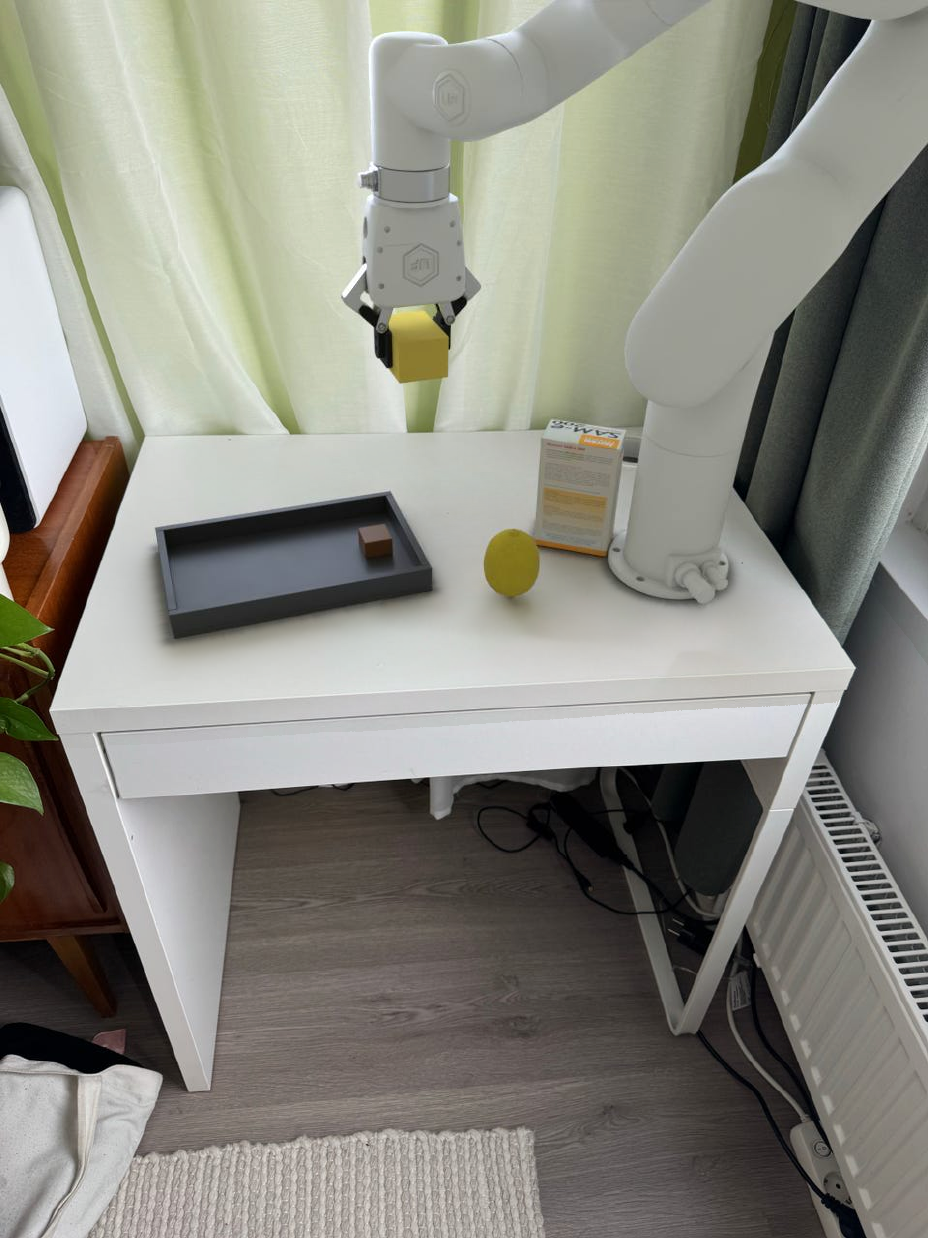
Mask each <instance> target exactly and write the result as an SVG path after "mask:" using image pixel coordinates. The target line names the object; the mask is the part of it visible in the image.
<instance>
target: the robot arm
mask: <svg viewBox="0 0 928 1238" xmlns="http://www.w3.org/2000/svg"><path fill="white" fill-rule="evenodd" d="M712 1H713V0H551V1H549V3H548V4H546V5H545V6H544V7H543V8H541V9H539V11H537V12H536V13H534V14H533V15H532V16H531V17H529V18H528V19H526V20H525V21H524V22H522V23H521V24H519V25H517V26H516V27H515V28H513V29H512V30H510V31H508V32H506V33H499V34H494V35H491V36H486V37H481V38H476V39H472V40H469V41H463V42H457V43H450V44H449V43H448V41H447V40H446V39H445V38H443V37H442V36H440V35H437V34H434V33H429V32H423V31H391V32H384V33H382V34H380V35H379V34H378V35H377V36H375V38H373V40H372V42H371V43H370V46H369V49H368V78H369V79H368V81H369V111H370V112H369V113H370V140H371V141H370V142H371V143H370V144H371V161H370V162H369V165H370V166H369V168H368V170H366V171H365V172H359V173H358V174H357V182H358V186H359V189H367V190H370V191H371V192H372V194H370V195H368V196H367V197H366V202H365V209H364V214H363V215H364V216H363V225H362V235H361V255H360V256H361V258H360V259H361V260H360V261H361V262H360V263H361V265H360V266H361V267H360V269H359V270H358V271H357V272H356V274H355V276H354V277H352V280H351V281H350V282H349V284H348V285H347V286H346V288H345V289H344V290H343V291H342V293H341V295H340V299H341V301H342V302H343V303H344V304H345V306H347V307H348V308H349V309H351V310H352V311H354V312H355V313H356V314H358V315H359V316H360V317H361V318H362V319H363V320H365V321H366V322H367V324H369V325H370V326H372V327H373V344H374V345H373V348H374V355H375V358H377V359H378V360H380V362H381V363H382V364H383V366H384V367H385V369H388V368H392V366H393V361H392V332H391V331H390V330H389V322H390V318H391V315H392V314H393V311H394V309H399V308H409V307H410V308H411V307H418V306H428V305H433V306H434V308H435V312H436V313H435V315H433V316H432V320H433V321H434V322H435V323H436V324H437V325H438V326H439V327H440V328H441V329H442V330H443V332H444V333H445V334H446V335H447V336H448V337H449V348H448V351H450V350H451V347H452V346H451V344H452V325H454V324H455V322H456V319H457V317H458V316H459V314H460V313H461V312H462V311H463V310H464V308H465V307H466V306H467V304H468V302H469V301H471V300H472V299H473V298H474V297H475V296H476V295H477V294H478V292H480V291H481V290H482V285H481V282H479V280H477V278H476V277H475V276H474V274H473V273H472V272H471V271H470V270H469V269H468V267H466V262H465V261H466V259H465V246H464V245H465V244H464V234H463V233H464V232H463V222H462V216H461V207H460V203H459V198H458V197H457V196H456V195H454V194H453V193H451V191H450V189H451V141H452V140H453V141H457V142H464V143H473V142H477V141H481V140H485V139H488V138H490V137H493V136H496V135H498V134H501V133H503V132H505V131H508V130H511V129H514V128H518V127H520V126H523V125H527V124H528V123H531V122H533V121H535V120H536V119H538V118H540V117H541V116H543V115H545V114H546V113H548V112H549V111H551V110H552V109H554V108H556V107H557V106H559V105H560V104H562V103H563V102H565V101H567V100H568V99H570V98H571V97H573V96H574V95H576V94H577V93H578V92H580V91H582V90H583V89H585V88H586V87H588V86H589V85H591V84H592V83H594V82H595V81H597V80H598V79H600V78H602V76H604V75H605V74H606V73H608V72H609V71H611V70H612V69H613V68H615V67H616V66H618V65H619V64H620V63H621V62H623V61H626V60H628V59H629V58H631V57H632V56H634V54H635V53H637V52H638V51H639V50H640V49H642V48H643V47H645V46H647V44H649V43H651V42H652V41H653V40H655V39H657V38H658V37H660V36H661V35H662V34H664V33H666V32H667V31H669V30H670V29H672V28H673V27H674V26H676V25H678V23H680V22H682V21H683V20H684V19H686V18H688V17H689V16H691V15H693V14H694V13H695V12H697V11H698V10H700V9H701V8H703V7H705V6H706V5H708V4H709V3H711V2H712ZM794 1H795V2H799V3H803V4H805V5H810V6H812V7H817V8H820V9H823V10H826V11H830V12H834V13H837V14H841V15H844V16H848V17H853V18H858V19H864V20H871V21H870V23H869V26H868V27H867V29H866V31H865V33H864V34H863V36H862V38H861V39H860V41H859V42H858V43H857V45H856V46H855V48H854V49H853V50H852V52H850V53H851V54H850V55H849V56H848V57H847V58H846V60H845V61H844V62H843V63H842V65H840V67H839V68H838V69H837V70H836V72H835V73H834V74H833V76H832V77H831V79H830V80H829V82H828V83H827V85H826V86H825V87H824V88H823V90H822V92H821V93H820V95H819V96H818V98H817V100H815V102H814V104H813V105H812V106H811V107H810V109H809V111H808V112H807V113H806V115H804V117H803V119H802V120H801V121H800V122H799V124H798V125H797V126H796V128H795V129H794V130H793V131H792V133H791V134H790V135H789V137H788V138H787V139H786V141H784V143H783V144H782V145H781V146H780V147H779V149H778V150H777V151H776V152H775V153H774V154H773V155H772V156H771V157H769V158H768V159H767V160H766V161H764V162H763V163H762V164H760V165H759V166H757V167H756V168H755V169H753V170H752V171H750V172H749V173H748V174H746V175H745V176H743V177H741V178H740V179H739V180H738V181H736V182H735V183H734V184H733V185H731V187H729V188H728V189H727V190H726V191H725V192H724V193H723V195H721V196H720V198H719V199H718V200H717V201H716V202H715V204H713V206H712V207H711V208H710V210H709V211H707V213H706V215H705V216H704V217H703V219H702V220H701V221H700V223H699V224H698V226H697V227H696V228H695V230H694V231H693V232H692V234H691V235H690V237H689V238H688V240H687V241H686V242H685V244H684V246H683V247H682V248H681V249H680V251H679V252H678V254H677V255H676V257H675V258H674V259H673V261H672V262H671V264H670V265H669V266H668V268H667V269H666V270H665V272H664V274H662V276H661V277H660V279H659V280H658V281H657V283H656V285H655V286H654V287H653V289H652V290H651V292H650V293H649V294H648V296H647V297H646V299H645V300H644V302H643V303H642V304H641V306H640V307H639V309H638V310H637V311H636V313H635V315H634V317H633V318H632V321H631V322H630V325H629V327H628V330H627V332H626V337H625V341H624V352H623V353H624V364H625V368H626V372H627V374H628V377H629V379H630V381H631V383H632V385H633V386H634V388H635V390H636V391H638V393H639V394H640V395H641V396H642V397H644V398H645V399H646V400H647V404H646V410H645V416H644V420H643V421H644V422H643V427H642V433H641V437H640V444H639V450H638V451H639V452H638V457H637V464H636V471H635V475H634V476H635V477H634V484H633V489H632V495H631V503H630V507H629V508H630V509H629V514H628V522H627V527H626V529H625V530H624V531H622V532H620V533H619V534H617V535H616V536H615V537H614V538H612V540H611V542H610V545H609V549H608V552H607V562H608V566H609V568H610V570H611V571H612V574H613V575H614V576H616V577H617V579H618V580H619V581H621V582H622V583H623V584H625V585H626V586H628V587H629V588H631V589H633V590H635V591H637V592H640V593H642V594H645V595H648V596H650V597H656V598H660V599H667V600H692V599H695V600H696V601H697V603H699V604H701V605H704V604H709V603H710V602H711V601H712V600H713V599H714V598H715V595H716V591H722V590H725V589H726V588H727V587H728V585H729V580H728V579H727V577H728V573H729V570H730V569H729V568H730V564H729V559H728V557H727V555H726V552H725V551H724V550H723V548H721V546H719V545H720V541H721V536H722V532H723V528H724V524H725V520H726V516H727V512H728V507H729V503H730V499H731V495H732V490H733V486H734V482H735V477H736V473H737V471H738V465H739V461H740V456H741V452H742V449H743V444H744V441H745V437H746V434H747V429H748V426H749V425H748V424H749V420H750V416H751V412H752V409H753V405H754V401H755V398H756V395H757V394H756V393H757V391H758V387H759V384H760V381H761V378H762V375H763V372H764V368H765V365H766V363H767V362H766V361H767V359H768V357H769V353H770V350H771V347H772V345H773V340H774V337H775V332H776V331H777V329H778V328H779V327H780V326H781V325H782V324H783V323H784V321H785V320H787V318H788V317H789V316H790V315H791V314H792V312H793V311H794V310H795V309H796V308H797V307H798V305H799V304H800V303H801V302H802V301H803V300H804V298H805V297H807V295H808V294H809V292H810V291H811V290H812V289H813V288H814V287H815V286H816V285H817V283H818V282H819V281H820V280H822V278H823V277H824V275H825V274H826V273H827V272H828V271H829V270H830V269H831V267H833V265H834V264H835V263H836V262H837V261H838V259H839V258H840V257H841V256H842V254H843V253H844V251H845V250H846V248H847V247H848V245H849V244H850V243H851V240H852V239H853V237H854V235H855V234H856V233H857V232H858V229H859V228H860V227H861V226H862V224H863V223H864V222H865V220H866V219H867V218H868V217H869V215H870V214H871V213H872V212H873V210H874V209H875V208H876V206H877V205H878V204H879V203H880V202H881V201H882V199H883V198H884V197H885V196H886V195H887V194H888V192H889V191H890V190H891V189H892V188H893V186H894V185H895V184H896V183H897V181H899V179H900V178H901V177H902V176H903V175H904V174H905V172H906V171H907V169H908V168H909V167H910V166H911V164H912V163H913V162H914V161H915V159H916V158H917V157H918V156H919V154H920V153H921V152H922V150H923V149H924V148H926V146H927V145H928V0H794ZM363 293H366V294H368V296H369V299H370V300H371V302H372V303H373V304H372V306H370V305H368V304H367V303H366V302H365V301H363V300H362V299H361V296H362V295H363Z"/></svg>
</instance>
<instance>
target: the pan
mask: <svg viewBox="0 0 928 1238" xmlns="http://www.w3.org/2000/svg"><path fill="white" fill-rule="evenodd" d="M381 524H385V525H386V527H387V529H388V531H389V533H390V535H391V537H392V539H393V554H389V555H383V556H378V557H372V558H365V556H364V554H363V551H362V549H361V547H360V545H359V539H358V528H363V527H369V526H375V525H381ZM154 531H155V535H156V543H157V549H158V555H159V561H160V567H161V575H162V581H163V588H164V594H165V600H166V607H167V612H168V619H169V622H170V627H171V631H172V635H173V639H179V638H185V637H190V636H196V635H202V634H206V633H212V632H217V631H218V632H219V631H222V630H228V629H229V630H230V629H233V628H238V627H244V626H249V625H250V626H251V625H255V624H260V623H267V622H271V621H275V620H281V619H287V618H292V617H297V616H302V615H307V614H313V613H319V612H323V611H324V612H325V611H329V610H335V609H340V608H345V607H350V606H356V605H362V604H366V603H371V602H373V603H374V602H378V601H383V600H388V599H389V600H390V599H394V598H398V597H399V598H400V597H403V596H410V595H416V594H421V593H427V592H431V591H433V567H432V565H431V563H430V562H429V559H428V558H427V556H426V554H425V552H424V551H423V549H422V547H421V545H420V543H419V541H418V540H417V537H416V535H415V533H414V531H413V529H412V527H410V525H409V523H408V521H407V519H406V517H405V515H404V513H403V512H402V509H401V508H400V506H399V504H398V503H397V500H396V498H395V496H394V495H393V493H392V491H391V490H389V491H382V492H376V493H368V494H363V495H356V496H349V497H343V498H342V497H341V498H337V499H330V500H323V501H317V502H311V503H305V504H298V505H292V506H285V507H284V506H283V507H279V508H271V509H265V510H260V511H259V510H258V511H252V512H245V513H240V514H239V513H238V514H233V515H227V516H220V517H213V518H207V519H201V520H194V521H190V522H189V521H188V522H182V523H174V524H169V525H162V526H156V527H154Z"/></svg>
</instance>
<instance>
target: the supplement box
mask: <svg viewBox="0 0 928 1238" xmlns="http://www.w3.org/2000/svg"><path fill="white" fill-rule="evenodd" d="M626 438H627V430H626V429H621V428H614V427H607V426H600V425H595V424H586V423H580V422H575V421H574V422H573V421H567V420H561V419H553V418H551V419H550V420H549V422H548V424H547V426H546V428H545V429H544V432H543V434H542V435H541V438H540V448H539V449H540V451H539V465H538V477H537V479H538V480H537V490H536V491H537V493H536V505H535V507H536V508H535V520H534V521H535V522H534V538H533V539H534V541H535V543H536V545H537V546H542V547H543V546H544V547H548V548H553V549H559V550H566V551H572V552H577V553H582V554H589V555H593V556H599V557H605V558H606V557H607V556H608V552H609V547H610V544H611V542H612V540H613V535H614V528H615V522H616V515H617V514H616V513H617V505H618V498H619V491H620V484H621V476H622V469H623V462H624V454H625V445H626Z"/></svg>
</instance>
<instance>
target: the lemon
mask: <svg viewBox="0 0 928 1238" xmlns="http://www.w3.org/2000/svg"><path fill="white" fill-rule="evenodd" d="M539 551H540V550H539V548H538V545H536V543H535V541H534V538H533V537H532V536H531V535H530V534H528V533H527V532H526V531H525V530H522V529H518V528H508V529H504V530H501V531H499V532H498V533H496V534H495V535H494V536H493V537H492V538H491V539H490V541H489V542H488V545H487V546H486V550H485V552H484V553H485V554H484V558H483V572H484V577H485V580H486V582H487V584H488V585H489V587H490V588H491V589H492V590H493V591H494V592H496V593H497V594H499V595H500V596H504V597H508V598H514V597H518V596H522V595H524V594H526V593H527V592H528V591H530V590H531V588H532V587H533V586H535V583H536V581H537V579H538V577H539V574H540V567H541V564H540V563H541V558H540V552H539Z"/></svg>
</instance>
